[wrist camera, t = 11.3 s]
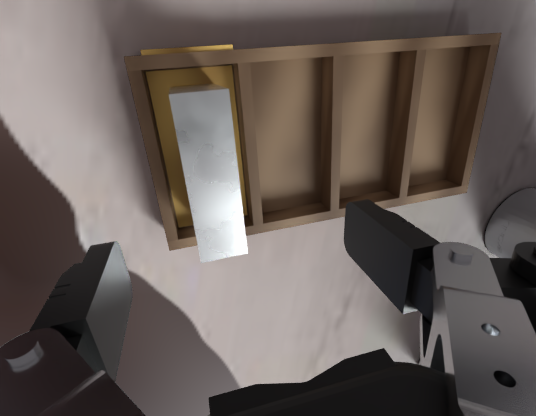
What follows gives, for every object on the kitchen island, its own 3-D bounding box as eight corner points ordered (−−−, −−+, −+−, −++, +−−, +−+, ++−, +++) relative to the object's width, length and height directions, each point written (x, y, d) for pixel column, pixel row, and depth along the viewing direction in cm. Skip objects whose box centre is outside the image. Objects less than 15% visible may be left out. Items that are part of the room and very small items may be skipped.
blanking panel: (213, 83, 22) (228, 88, 16) (230, 210, 26) (247, 253, 20) (169, 87, 22) (168, 94, 15) (194, 216, 26) (201, 263, 20)
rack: (470, 32, 27) (502, 28, 24) (443, 182, 33) (466, 192, 30) (128, 53, 21) (122, 50, 18) (169, 232, 27) (169, 250, 24)
